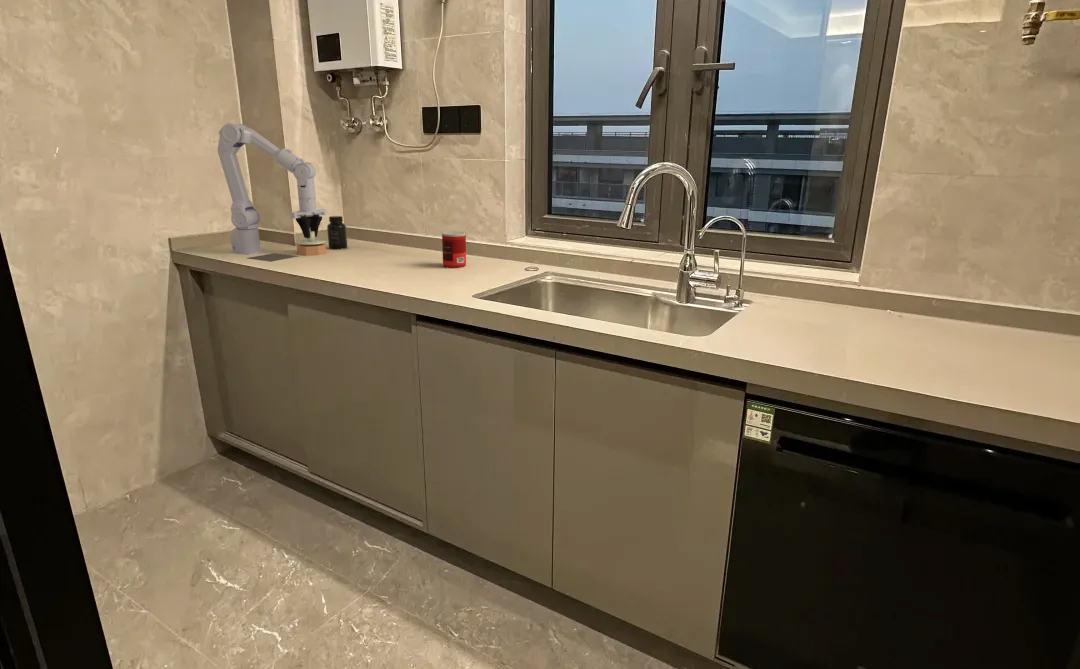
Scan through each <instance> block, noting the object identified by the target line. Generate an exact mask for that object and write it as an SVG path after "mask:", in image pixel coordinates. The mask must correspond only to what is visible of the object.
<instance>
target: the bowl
mask: <svg viewBox="0 0 1080 669" xmlns="http://www.w3.org/2000/svg"><path fill="white" fill-rule="evenodd" d="M296 249H297V252H296V253H297V256H304V257H308V256H320V255H321V256H322V255H325V254H327V245H326V243H323V244H316V245H299V244H297V243H296Z"/></svg>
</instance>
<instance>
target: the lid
mask: <svg viewBox="0 0 1080 669" xmlns="http://www.w3.org/2000/svg"><path fill="white" fill-rule="evenodd" d="M323 243H325V244H326V243H327V240H325V239H316V237H315V232H314V231H310V238H306V239H303V240H298V241H296V245H297V244H299V245H316V244H323Z"/></svg>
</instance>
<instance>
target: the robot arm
mask: <svg viewBox="0 0 1080 669" xmlns="http://www.w3.org/2000/svg"><path fill="white" fill-rule="evenodd" d="M218 135H219V139H218V144H217V153H218V158H219V160H220V165H221V167H222V171H223V173H224V178H225V180H226V184H227V187H228V190H229V193H230V196H231V200H232V203H231V206H230V211H231V215H230V216H231V218H230V221H231V222H232V224H233V226H234V227H235V228H233V229H231V231H230V242H231V244H230V245H231V251H230V252H229V253H230V254H231V253H232V254H239V255H247V256H248V255H249V256H250V255H255V254H261V253H266V252H267V250H262V249H261V243H260V242H261V241H260V232H259V226H258V224H259V223H260V222H261V221H260V220H261V215H260V213H259V211H258V210H257V209H256V208H255V204H254V203H253V201H251V200H250V198H249V194H248V191H247V188H246V184H245V183H246V182H245V181H244V177H243V174H242V171H241V167H240V164H239V161H238V156H237V153H238V152H239V150H240V149H241V147H243V146H244V145H246V144H252V145H254V146H256V147H258V148H259V149H260V150H262V151H264V152H265V153H267V154H269V155H270V156H272V157H273V158H274V160H275V164H278V165H279V166H281V167H282V168H283V169H285V170H287V171H288V172H290V173H292V174H293V176H294V178H295V179H296V185H297V186H296V188H297V196H298V197H297V198H298V207H299V210H298V211H293V212H290V213H289V216H290V219H295V221H296V222H297V224H298V226H299V227H300V229H301V231H302V235H303V237H304V238H305V239H307V238H310V231H314V232H315V238H317V237H318V232H319V227H320V225H321V223H322V221H323V216H326V215H327V211H326V209H324V208H323V209H322V208H321V209H317V207H318V206H317V199H316V198H317V196H316V186H315V176H316V174H317V171H316V168H315V166H314V165H313V164H312V163H311V162H305V159H304V158H302V157H301V158H300V157H298V156H297V155H295V154H294V153H293V151H292V150H291V149H287V148H281V149H280V148H279V147H278V146H276V145H275V144H274V143H272V142H270V140H268V139H267V138H265V137H263V136H262V135H261V134H260V133H258V132H257V131H256V130H254V129H253V128H250V127H248V126H247V125H245V124H242V123H241V124H237V123H235V124H234V123H230V122H229V123H225V124H224V125H223V126H222V127H221V128H220V130H219V131H218Z"/></svg>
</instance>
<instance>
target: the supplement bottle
mask: <svg viewBox="0 0 1080 669" xmlns="http://www.w3.org/2000/svg"><path fill="white" fill-rule="evenodd" d="M328 222H329V223H328V224H327V226H326V227H327V228H326V229H327V230H326V231H327V242H328V248H329V249H330V248H332V249H331V250H342V249H341V248H345V249H347V248H348V237H347V235H348V234H347V226H346V224H345V223H343V222H344V220H343V216H342V215H331V216H329V217H328Z"/></svg>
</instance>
